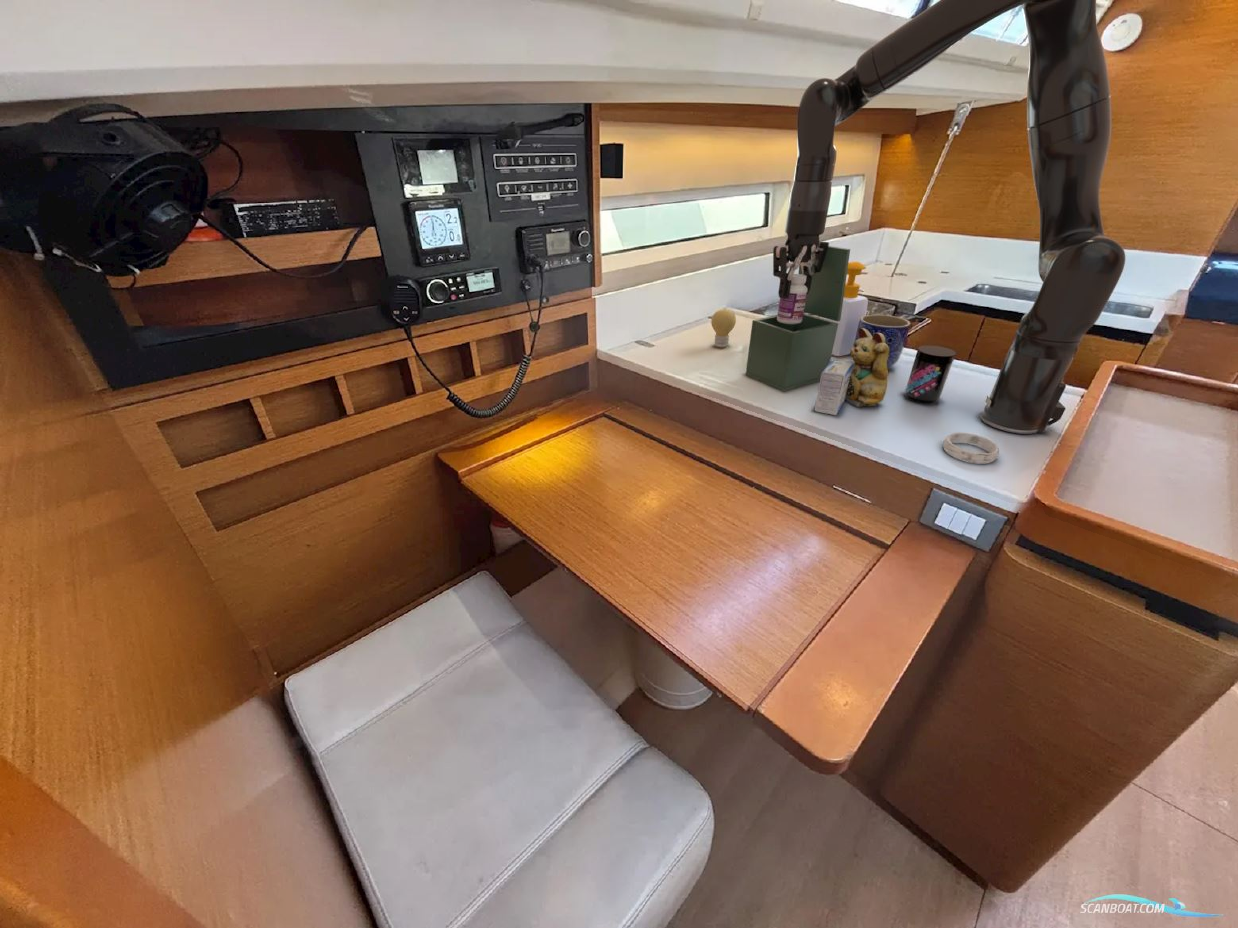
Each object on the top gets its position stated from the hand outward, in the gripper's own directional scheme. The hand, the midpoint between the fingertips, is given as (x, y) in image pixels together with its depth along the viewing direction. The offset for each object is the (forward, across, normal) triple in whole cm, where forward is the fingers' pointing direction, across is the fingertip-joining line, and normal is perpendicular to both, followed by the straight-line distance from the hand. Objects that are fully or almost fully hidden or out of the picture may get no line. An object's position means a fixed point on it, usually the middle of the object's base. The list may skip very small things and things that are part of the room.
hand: (793, 295), depth 106 cm
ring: (+19, +2, -42) cm, 46 cm away
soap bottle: (+19, +28, +8) cm, 35 cm away
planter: (+19, +26, -6) cm, 32 cm away
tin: (+19, +2, 0) cm, 19 cm away
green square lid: (-2, +8, 0) cm, 8 cm away
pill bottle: (+6, 0, 0) cm, 6 cm away
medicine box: (+19, -3, -16) cm, 25 cm away
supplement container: (+19, +17, -24) cm, 35 cm away
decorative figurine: (+19, +5, -18) cm, 27 cm away
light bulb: (+19, +4, +26) cm, 32 cm away
